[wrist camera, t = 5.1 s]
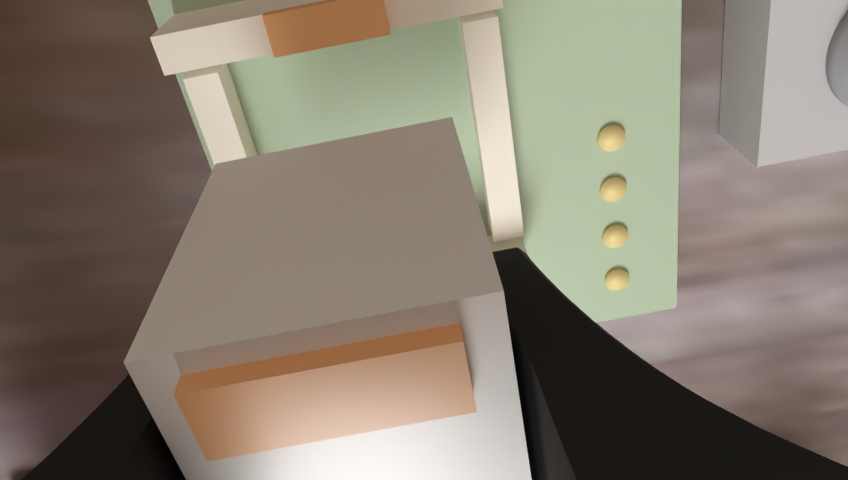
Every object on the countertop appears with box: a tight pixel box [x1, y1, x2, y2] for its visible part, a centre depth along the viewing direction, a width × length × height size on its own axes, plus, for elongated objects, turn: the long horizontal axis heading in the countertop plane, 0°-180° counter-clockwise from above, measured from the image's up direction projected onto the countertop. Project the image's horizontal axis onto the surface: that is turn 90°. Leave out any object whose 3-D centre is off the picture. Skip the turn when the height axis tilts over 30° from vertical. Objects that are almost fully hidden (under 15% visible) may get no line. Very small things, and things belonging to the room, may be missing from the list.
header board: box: [148, 0, 682, 323], centre depth 17 cm, size 12×12×3 cm
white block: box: [123, 117, 532, 480], centre depth 10 cm, size 5×4×5 cm
